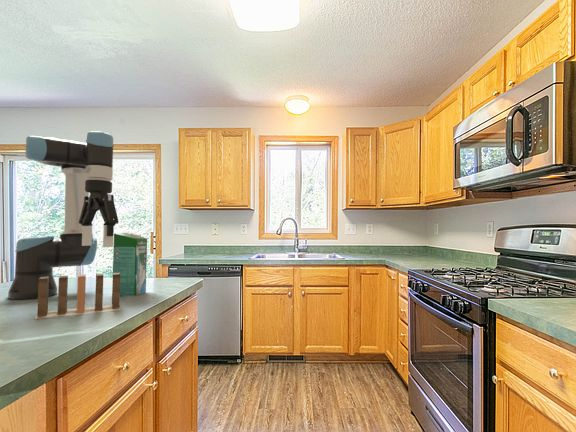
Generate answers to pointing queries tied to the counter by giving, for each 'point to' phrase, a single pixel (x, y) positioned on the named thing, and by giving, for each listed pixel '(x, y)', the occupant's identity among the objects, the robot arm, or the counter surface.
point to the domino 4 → (116, 291)
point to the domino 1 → (43, 296)
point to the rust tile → (81, 293)
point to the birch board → (74, 312)
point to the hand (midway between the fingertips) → (97, 246)
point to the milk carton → (130, 262)
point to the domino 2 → (62, 295)
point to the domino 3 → (99, 292)
